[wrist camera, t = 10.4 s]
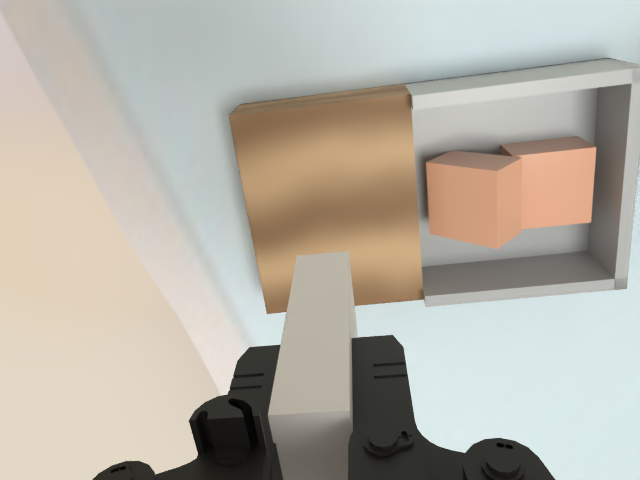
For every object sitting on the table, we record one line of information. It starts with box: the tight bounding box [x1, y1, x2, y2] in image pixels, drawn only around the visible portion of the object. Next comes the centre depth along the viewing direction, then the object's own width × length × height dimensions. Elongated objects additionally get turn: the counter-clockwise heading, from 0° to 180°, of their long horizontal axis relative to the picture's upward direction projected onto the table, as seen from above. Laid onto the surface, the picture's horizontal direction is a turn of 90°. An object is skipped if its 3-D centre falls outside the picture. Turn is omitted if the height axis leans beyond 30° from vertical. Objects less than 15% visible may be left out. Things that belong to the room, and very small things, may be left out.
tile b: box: [501, 136, 596, 229], centre depth 37 cm, size 5×5×3 cm
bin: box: [404, 58, 640, 307], centre depth 36 cm, size 14×13×5 cm
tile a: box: [426, 150, 522, 249], centre depth 36 cm, size 5×5×3 cm
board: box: [229, 84, 424, 314], centre depth 38 cm, size 14×11×4 cm
